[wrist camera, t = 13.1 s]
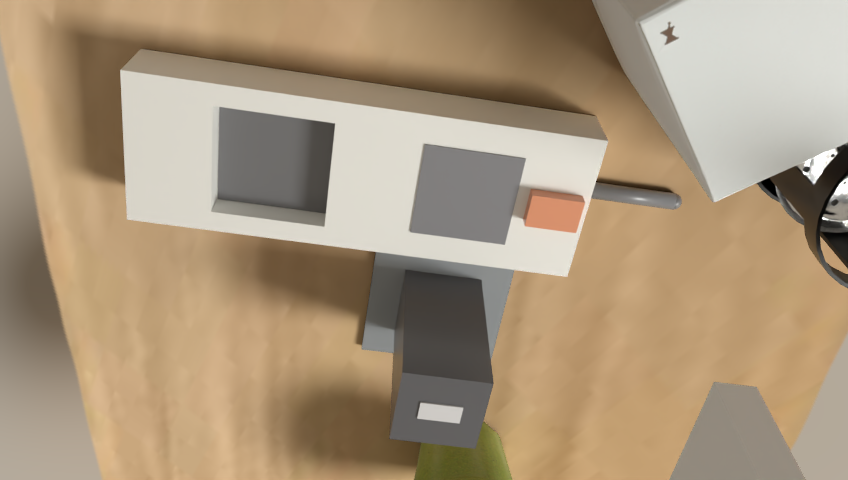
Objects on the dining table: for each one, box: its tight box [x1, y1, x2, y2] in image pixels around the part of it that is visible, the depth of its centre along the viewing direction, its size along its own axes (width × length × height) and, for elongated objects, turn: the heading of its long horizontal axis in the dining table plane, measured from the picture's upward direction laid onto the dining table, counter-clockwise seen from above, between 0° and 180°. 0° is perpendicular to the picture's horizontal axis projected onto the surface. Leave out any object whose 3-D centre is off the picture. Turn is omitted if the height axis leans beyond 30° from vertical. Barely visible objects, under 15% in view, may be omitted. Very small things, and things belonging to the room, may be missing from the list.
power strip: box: [120, 49, 682, 277], centre depth 45 cm, size 9×32×4 cm, turn 81°
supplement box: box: [592, 0, 848, 202], centre depth 35 cm, size 9×9×15 cm
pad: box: [362, 252, 514, 358], centre depth 52 cm, size 9×9×1 cm
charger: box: [389, 270, 493, 449], centre depth 48 cm, size 5×5×10 cm
